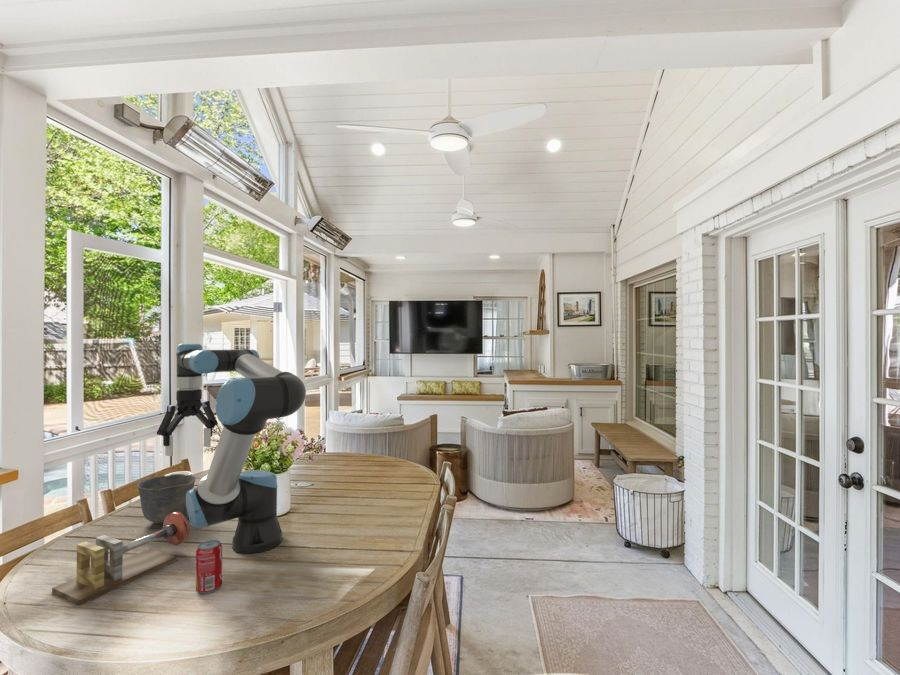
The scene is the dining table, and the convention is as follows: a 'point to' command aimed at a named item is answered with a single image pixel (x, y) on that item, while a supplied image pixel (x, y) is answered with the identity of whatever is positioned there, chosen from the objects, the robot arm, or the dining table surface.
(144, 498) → the grey plant pot
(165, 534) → the red knob rod
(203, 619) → the dining table surface
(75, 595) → the board
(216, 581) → the soda can
